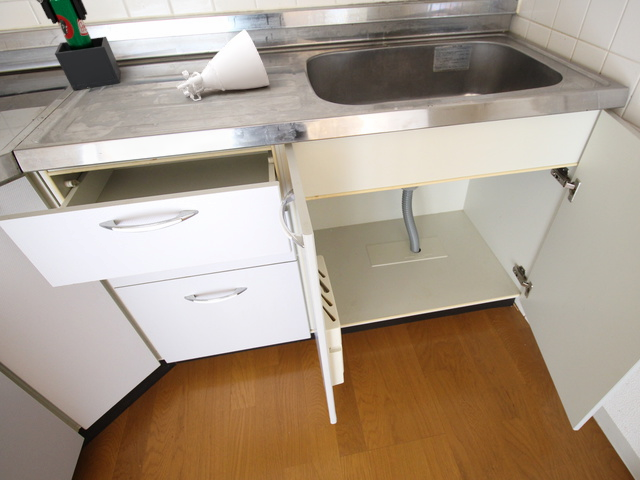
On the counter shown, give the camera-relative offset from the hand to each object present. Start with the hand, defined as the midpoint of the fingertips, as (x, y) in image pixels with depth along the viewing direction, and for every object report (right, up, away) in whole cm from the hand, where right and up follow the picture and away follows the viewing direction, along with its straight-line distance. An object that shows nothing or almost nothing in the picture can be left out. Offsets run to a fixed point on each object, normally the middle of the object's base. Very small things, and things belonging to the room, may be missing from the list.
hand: (69, 19), depth 88 cm
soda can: (0, -5, +5) cm, 7 cm away
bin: (+1, -9, +9) cm, 13 cm away
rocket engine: (+35, -16, +1) cm, 39 cm away
